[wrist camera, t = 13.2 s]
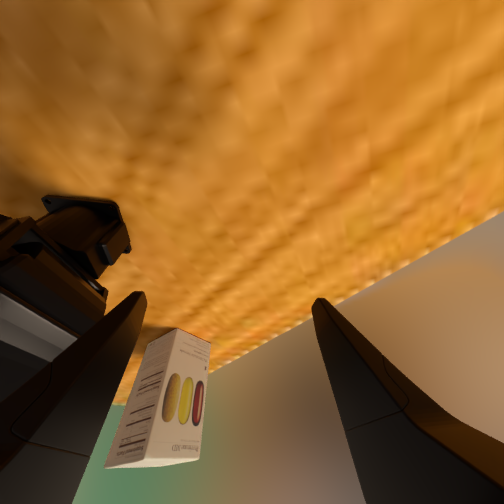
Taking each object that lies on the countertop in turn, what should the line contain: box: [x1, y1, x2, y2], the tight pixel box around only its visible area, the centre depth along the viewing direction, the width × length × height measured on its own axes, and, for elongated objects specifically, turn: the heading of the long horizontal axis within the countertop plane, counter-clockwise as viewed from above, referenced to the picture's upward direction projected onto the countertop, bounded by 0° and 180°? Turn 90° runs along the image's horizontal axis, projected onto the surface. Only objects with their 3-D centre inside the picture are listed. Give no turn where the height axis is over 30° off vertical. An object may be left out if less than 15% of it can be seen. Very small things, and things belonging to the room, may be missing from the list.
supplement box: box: [104, 328, 211, 468], centre depth 32 cm, size 10×9×17 cm
